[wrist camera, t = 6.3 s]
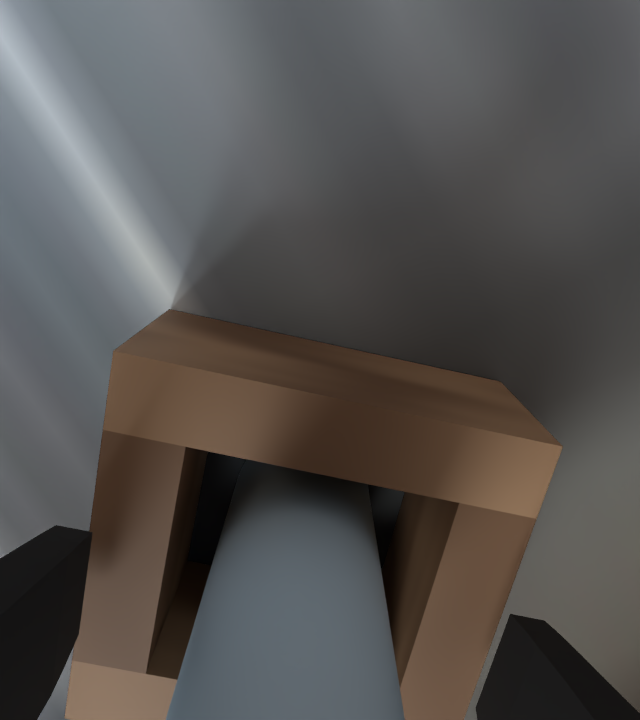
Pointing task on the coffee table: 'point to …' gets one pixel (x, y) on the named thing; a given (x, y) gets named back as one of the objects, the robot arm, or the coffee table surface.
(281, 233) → the coffee table surface
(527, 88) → the coffee table surface
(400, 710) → the dowel
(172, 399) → the brown square frame
